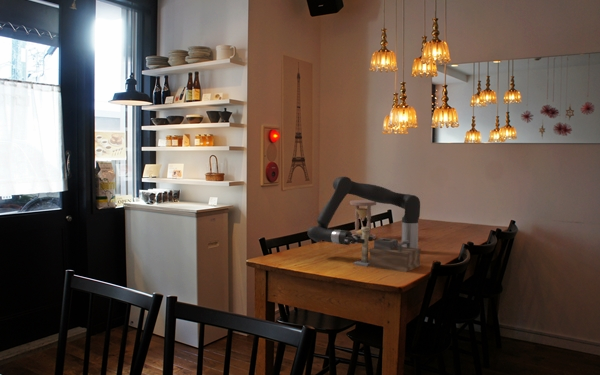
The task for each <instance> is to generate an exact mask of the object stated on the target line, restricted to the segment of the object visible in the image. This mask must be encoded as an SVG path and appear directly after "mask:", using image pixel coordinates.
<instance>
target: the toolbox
mask: <svg viewBox="0 0 600 375" xmlns="http://www.w3.org/2000/svg"><path fill="white" fill-rule="evenodd" d="M373 241H374V242H373V246H374V247H371V248H368V253H369V260H370V266H369V267H371V268H378V269H384V270H390V271H398V272H404V273H408V272H409V271H412V270H414V269H416V268H419V267H420V266H421V264H420V263H421V252H422V249H421V248H419V247H418V248H412V247H410V240H406V241H403V242H402V241H401V242H399V239H398V238H397V239H395V238H386V237H380V238H378V239H377V238H376V239H374V240H373ZM404 244H407V247H403V246H402V245H404ZM407 271H408V272H407Z"/></svg>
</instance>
